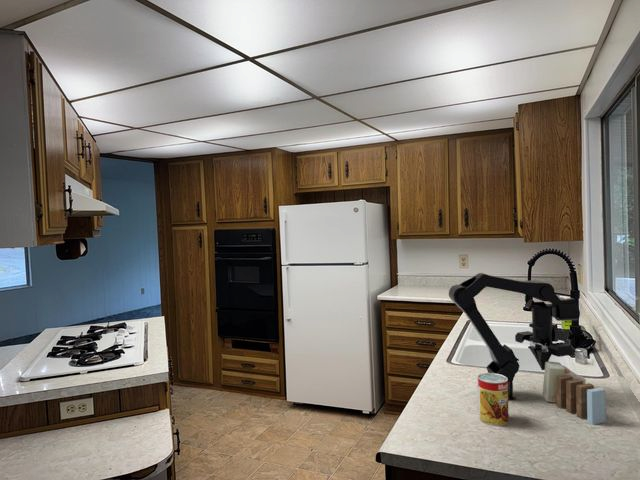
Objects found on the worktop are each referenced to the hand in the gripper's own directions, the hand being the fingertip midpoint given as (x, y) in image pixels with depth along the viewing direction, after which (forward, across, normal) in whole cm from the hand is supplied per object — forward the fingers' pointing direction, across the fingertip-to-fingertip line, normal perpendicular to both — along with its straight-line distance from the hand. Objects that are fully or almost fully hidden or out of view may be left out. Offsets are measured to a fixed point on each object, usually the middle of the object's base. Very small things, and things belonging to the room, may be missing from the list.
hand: (543, 369), depth 137 cm
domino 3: (+8, -16, +1) cm, 18 cm away
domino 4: (+8, -20, +1) cm, 21 cm away
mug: (+9, +4, -13) cm, 16 cm away
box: (+8, -3, 0) cm, 9 cm away
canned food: (+8, -9, +26) cm, 28 cm away
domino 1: (+8, -9, 0) cm, 12 cm away
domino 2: (+8, -12, +1) cm, 15 cm away
